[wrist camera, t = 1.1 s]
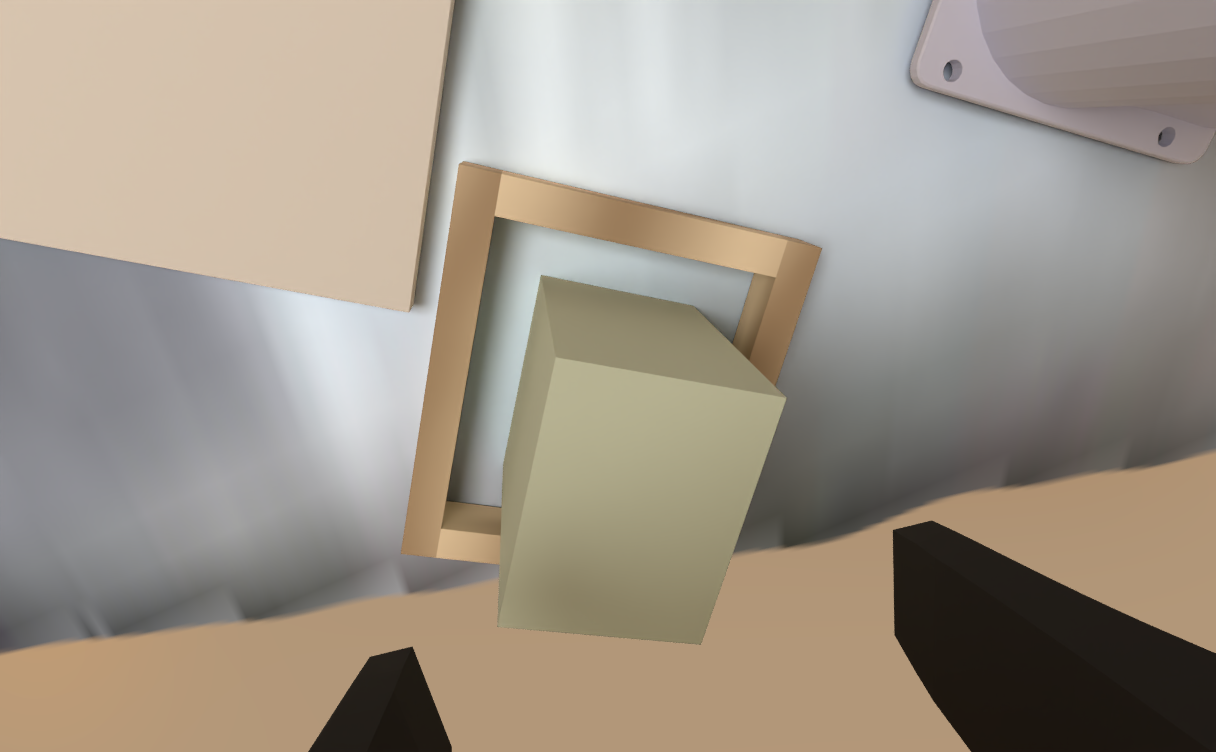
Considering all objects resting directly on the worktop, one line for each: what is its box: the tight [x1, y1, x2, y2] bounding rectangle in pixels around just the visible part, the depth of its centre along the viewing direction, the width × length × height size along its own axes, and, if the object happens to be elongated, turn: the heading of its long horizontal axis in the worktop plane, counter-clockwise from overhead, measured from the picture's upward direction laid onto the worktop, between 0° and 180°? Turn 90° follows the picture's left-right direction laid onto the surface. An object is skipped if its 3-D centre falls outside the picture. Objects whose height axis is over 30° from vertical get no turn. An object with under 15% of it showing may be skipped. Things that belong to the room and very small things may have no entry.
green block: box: [498, 275, 787, 645], centre depth 16 cm, size 4×6×7 cm
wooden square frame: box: [401, 161, 822, 564], centre depth 18 cm, size 10×11×2 cm
